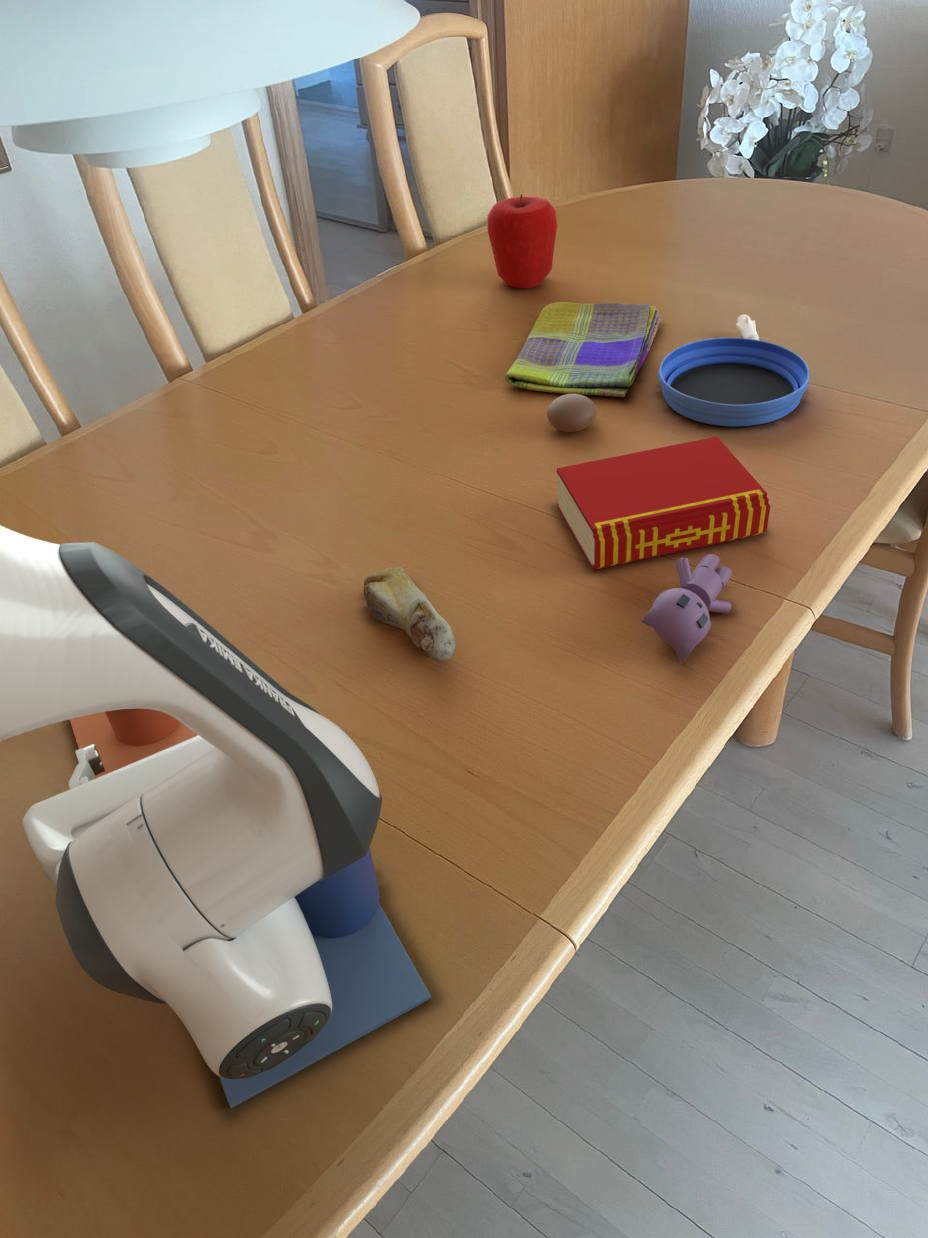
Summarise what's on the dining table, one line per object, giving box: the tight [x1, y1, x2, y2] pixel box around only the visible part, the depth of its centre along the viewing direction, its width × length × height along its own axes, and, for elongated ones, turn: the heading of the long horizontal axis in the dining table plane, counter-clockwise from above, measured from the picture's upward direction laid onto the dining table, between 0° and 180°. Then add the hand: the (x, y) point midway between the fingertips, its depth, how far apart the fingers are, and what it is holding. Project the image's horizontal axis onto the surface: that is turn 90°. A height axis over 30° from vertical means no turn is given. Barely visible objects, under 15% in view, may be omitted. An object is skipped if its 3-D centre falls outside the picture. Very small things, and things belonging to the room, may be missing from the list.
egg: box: [546, 393, 597, 433], centre depth 119 cm, size 6×6×4 cm
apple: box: [486, 193, 558, 289], centre depth 151 cm, size 11×10×14 cm
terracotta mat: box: [68, 712, 198, 779], centre depth 86 cm, size 12×12×1 cm
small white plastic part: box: [735, 313, 760, 340], centre depth 133 cm, size 4×6×3 cm, turn 159°
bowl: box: [658, 337, 810, 428], centre depth 122 cm, size 18×18×4 cm
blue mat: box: [218, 903, 432, 1109], centre depth 67 cm, size 14×14×1 cm
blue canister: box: [295, 846, 380, 938], centre depth 67 cm, size 6×6×10 cm
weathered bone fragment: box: [363, 566, 457, 663], centre depth 92 cm, size 5×5×15 cm
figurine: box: [640, 553, 733, 665], centre depth 90 cm, size 5×7×12 cm
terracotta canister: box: [105, 708, 180, 746], centre depth 83 cm, size 6×6×10 cm
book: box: [556, 436, 771, 571], centre depth 102 cm, size 18×13×5 cm
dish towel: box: [504, 301, 662, 398], centre depth 134 cm, size 18×24×3 cm
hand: (147, 727), depth 76 cm, fingers open, 8 cm apart
